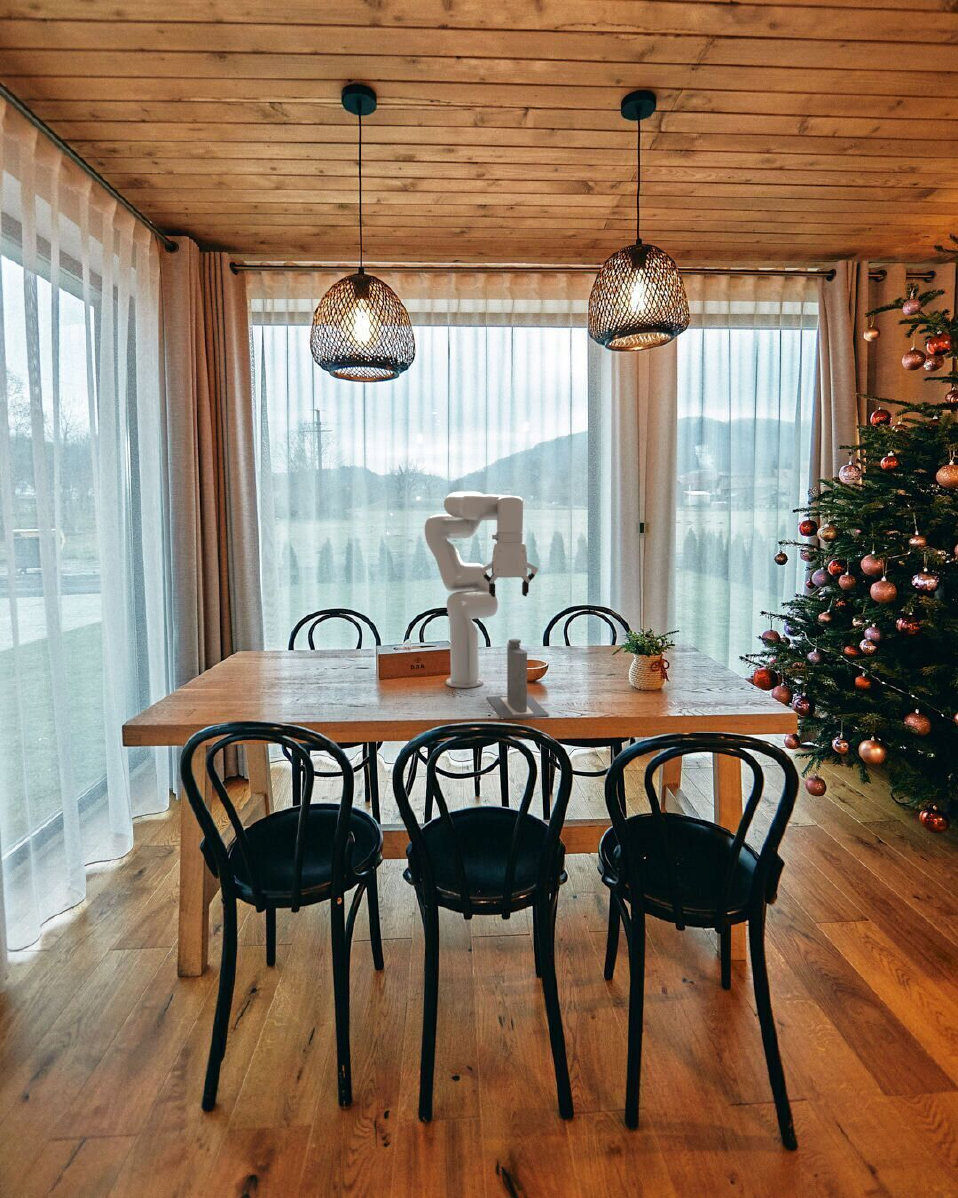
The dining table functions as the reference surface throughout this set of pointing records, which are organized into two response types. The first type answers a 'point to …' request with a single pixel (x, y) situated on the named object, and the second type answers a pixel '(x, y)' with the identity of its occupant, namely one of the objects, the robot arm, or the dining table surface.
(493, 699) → the mat
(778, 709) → the dining table surface
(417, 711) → the dining table surface
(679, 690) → the dining table surface
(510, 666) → the hip flask
